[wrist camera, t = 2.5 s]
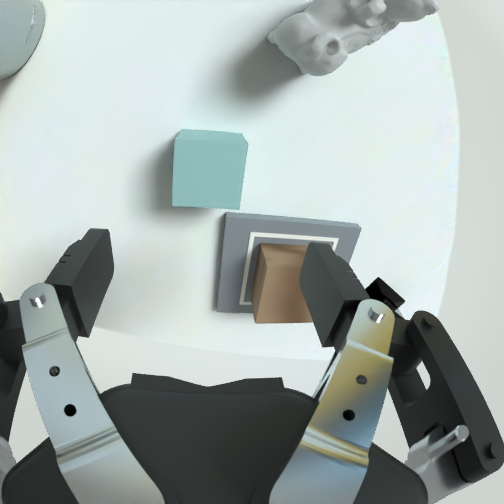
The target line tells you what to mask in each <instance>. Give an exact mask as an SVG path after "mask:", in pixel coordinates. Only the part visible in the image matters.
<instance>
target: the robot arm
mask: <svg viewBox="0 0 504 504" xmlns="http://www.w3.org/2000/svg"><path fill="white" fill-rule="evenodd" d="M44 21H45V10H44V7H43V4H42V3H41V2H40V1H39V0H0V80H1V79H5V78H8V77H10V76H11V75H13V74H14V73H16V72H17V71H18V70H19V69H20V68H21V67H22V66H23V65H24V64H25V63H26V61H27V60H28V59H29V57H30V56H31V54H32V53H33V51H34V49H35V47H36V46H37V44H38V41H39V39H40V37H41V34H42V30H43V27H44ZM113 272H114V261H113V255H112V247H111V240H110V233H109V230H108V229H95V228H90V229H89V230H88V232H87V233H86V234H85V236H84V237H83V238H82V240H78V241H76V242H75V243H73V244H72V245H71V246H69V247H68V249H67V250H66V251H65V253H64V254H63V256H62V257H61V258H60V260H59V263H57V264H56V266H55V267H54V269H53V270H52V272H51V273H50V275H49V276H48V278H47V279H46V281H45V282H44V283H40V284H36V285H33V286H31V287H29V288H28V289H27V290H26V291H24V293H23V294H22V296H21V298H20V300H15V301H8V302H5V301H4V299H3V297H2V294H1V293H0V504H434V503H436V502H437V501H439V500H441V499H443V498H445V497H446V496H448V495H449V494H452V493H454V492H456V491H459V490H461V489H463V488H465V487H467V486H469V485H471V484H473V483H475V482H477V481H479V480H481V479H483V478H485V477H487V476H488V475H490V474H492V473H493V472H495V471H497V470H498V469H499V468H500V467H501V466H502V465H503V463H504V443H503V440H502V438H501V436H500V433H499V430H498V428H497V425H496V423H495V421H494V419H493V416H492V414H491V412H490V410H489V408H488V406H487V403H486V401H485V399H484V397H483V395H482V393H481V391H480V389H479V387H478V385H477V384H476V382H475V380H474V378H473V376H472V374H471V372H470V370H469V369H468V367H467V365H466V363H465V362H464V360H463V358H462V356H461V355H460V353H459V351H458V349H457V348H456V346H455V344H454V343H453V341H452V340H451V338H450V336H449V335H448V333H447V332H446V330H445V329H444V327H443V325H442V324H441V322H440V321H439V320H438V319H437V318H436V317H435V316H434V315H433V314H431V313H429V312H426V311H416V312H415V313H414V315H413V316H412V318H411V320H405V319H400V318H395V317H394V314H393V312H392V310H391V309H390V308H389V307H388V306H387V305H385V304H384V303H382V302H380V301H377V300H373V299H371V298H370V297H369V295H368V294H367V292H366V290H365V289H364V287H363V286H362V284H361V283H360V281H359V279H357V276H356V275H355V273H353V270H352V269H351V267H350V266H349V264H348V263H347V262H346V261H345V260H344V259H342V258H341V257H340V256H337V255H336V254H335V252H334V251H333V249H332V248H331V246H330V245H329V244H328V243H319V242H310V243H309V244H308V247H307V250H306V254H305V257H304V261H303V264H302V268H301V271H300V276H299V285H300V289H301V291H302V294H303V297H304V299H305V302H306V304H307V307H308V310H309V312H310V315H311V318H312V320H313V323H314V326H315V328H316V331H317V334H318V336H319V339H320V342H321V344H322V347H334V348H335V352H334V354H333V356H332V358H331V360H330V362H329V364H328V366H327V368H326V370H325V373H324V375H323V377H322V379H321V381H320V383H319V385H318V387H317V389H316V390H315V393H314V394H313V396H312V397H311V396H308V395H307V394H305V393H302V392H299V391H296V390H293V389H289V388H284V385H283V381H282V378H281V377H279V378H255V379H243V380H239V381H234V382H230V383H225V384H220V385H216V386H211V387H206V386H201V385H197V384H193V383H190V382H186V381H182V380H179V379H175V378H172V377H167V376H155V375H146V374H136V373H133V375H132V381H131V384H124V385H120V386H116V387H113V388H111V389H108V390H107V391H104V392H103V393H101V394H100V392H99V390H98V388H97V387H96V385H95V383H94V381H93V379H92V377H91V375H90V373H89V371H88V368H87V366H86V364H85V362H84V360H83V358H82V355H81V353H80V351H79V349H78V346H77V344H76V341H77V338H78V336H82V337H87V338H88V337H89V336H90V333H91V330H92V327H93V325H94V322H95V319H96V317H97V314H98V311H99V309H100V306H101V304H102V301H103V299H104V296H105V294H106V291H107V289H108V286H109V284H110V282H111V279H112V277H113ZM421 361H423V363H424V365H425V367H426V369H427V371H428V373H429V375H430V380H431V382H430V386H429V388H428V389H427V390H426V388H425V386H424V384H423V382H422V379H421V377H420V375H419V373H418V371H417V369H416V368H417V366H418V365H419V364H420V363H421ZM26 370H27V372H28V376H29V380H30V383H31V387H32V390H33V393H34V396H35V400H36V402H37V406H38V409H39V411H40V414H41V417H42V419H43V422H44V425H45V427H46V430H47V432H48V435H49V437H48V438H47V439H46V440H44V441H43V442H42V443H41V444H40V445H38V446H37V447H36V448H35V449H34V450H33V451H31V452H30V453H29V454H28V455H26V456H25V457H24V458H23V459H22V460H21V461H19V462H18V463H17V464H16V460H15V458H14V457H13V456H12V451H11V448H10V445H9V444H8V442H9V437H10V431H11V426H12V421H13V417H14V412H15V408H16V404H17V400H18V397H19V393H20V389H21V386H22V382H23V379H24V376H25V373H26ZM387 388H388V390H389V392H390V395H391V398H392V400H393V403H394V405H395V408H396V411H397V414H398V417H399V419H400V422H401V425H402V428H403V431H404V434H405V437H406V440H407V443H408V446H409V449H410V450H409V452H408V460H406V461H405V463H404V464H403V463H402V462H400V461H399V460H397V459H396V458H394V457H393V456H391V455H390V454H388V453H387V452H386V451H384V450H383V449H381V448H380V447H378V446H377V445H376V444H374V443H373V442H372V440H373V437H374V434H375V431H376V427H377V424H378V421H379V418H380V414H381V410H382V407H383V404H384V400H385V396H386V392H387Z"/></svg>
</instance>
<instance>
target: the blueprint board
mask: <svg viewBox="0 0 504 504" xmlns="http://www.w3.org/2000/svg"><path fill="white" fill-rule="evenodd" d="M361 229H362V228H361V227H360V226H359V225H358V224H354V223H345V222H335V221H326V220H316V219H305V218H294V217H283V216H271V215H259V214H245V213H231V212H226V217H225V227H224V236H223V246H222V256H221V267H220V277H219V288H218V300H217V312H228V313H253V309H252V303H251V298H250V296H251V291H252V285H253V280H254V274H255V269H256V264H257V258H258V253H259V247H260V243H274V244H291V245H307V246H308V244H309V243H310V242H319V243H328V244H329V245H330V246H331V248H332V249H333V251H334V252H335V254H336V255H337V256H340V257H341V258H342V259H344V260H345V261H346V262H347V263H348V264H349V262H350V259H351V257H352V254H353V251H354V248H355V246H356V243H357V240H358V237H359V234H360V232H361Z"/></svg>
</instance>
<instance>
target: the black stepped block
mask: <svg viewBox="0 0 504 504" xmlns="http://www.w3.org/2000/svg"><path fill="white" fill-rule="evenodd" d="M365 290H366V292H367V294H368V295H369V297H370V298H371V299H373V300H377V301H380V302H382V303H384V304H385V305H387V306H388V307H389V308H390V309H391V310H392V312H393V314H394V317H395V318H400V319H404V317H403V316H402V314H401V312H400V311H399V309H398V308H399V307H400V306H401V305H402V304H403V303H404V302H405V300H404V299H403V298H402V297H400V296H399V295H398V294H397V293H396V292H395V291H394V290H393V289H392V288H391V287H389V286H388V285H387V284H386V283H385V282H384V281H383V280H382V279H380V278H379V277H377V278H376V279H375V280H374V281H373V282H372V283H371V284H370V285H369V286H368V287H367V288H366V289H365Z"/></svg>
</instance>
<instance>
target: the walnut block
mask: <svg viewBox="0 0 504 504" xmlns="http://www.w3.org/2000/svg"><path fill="white" fill-rule="evenodd" d="M307 247H308V246H307V245H291V244H274V243H260V247H259V253H258V258H257V264H256V269H255V274H254V280H253V285H252V291H251V296H250V298H251V303H252V309H253V314H254V320H255V323H309V322H313V320H312V318H311V315H310V312H309V310H308V307H307V304H306V302H305V299H304V297H303V294H302V291H301V289H300V285H299V276H300V271H301V268H302V264H303V261H304V257H305V254H306V250H307Z"/></svg>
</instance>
